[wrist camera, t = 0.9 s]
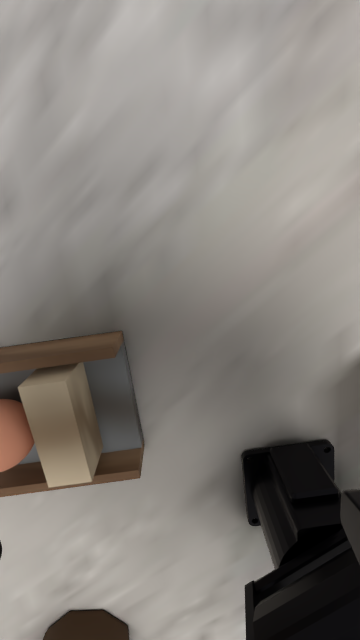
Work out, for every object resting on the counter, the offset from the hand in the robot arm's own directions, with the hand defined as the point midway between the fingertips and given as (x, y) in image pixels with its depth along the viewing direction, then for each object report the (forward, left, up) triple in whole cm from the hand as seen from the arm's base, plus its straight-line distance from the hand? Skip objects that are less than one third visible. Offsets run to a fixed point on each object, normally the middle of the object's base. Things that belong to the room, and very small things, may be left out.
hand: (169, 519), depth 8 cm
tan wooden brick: (-3, +7, -11) cm, 13 cm away
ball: (-3, +10, -9) cm, 14 cm away
